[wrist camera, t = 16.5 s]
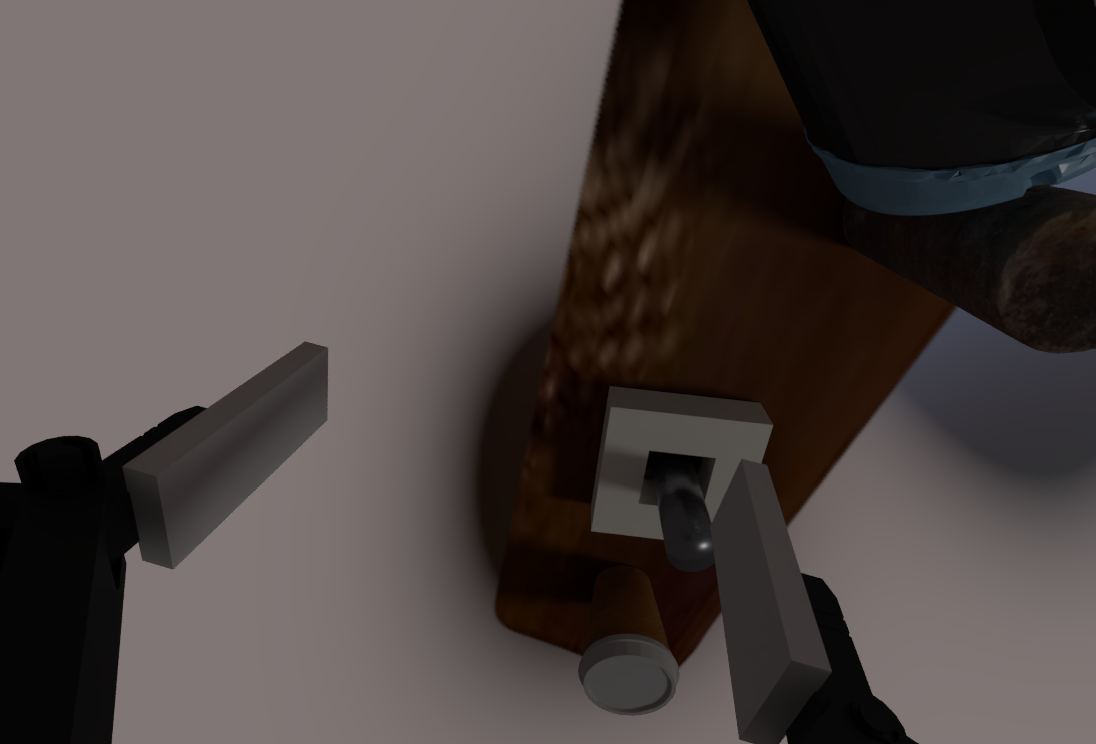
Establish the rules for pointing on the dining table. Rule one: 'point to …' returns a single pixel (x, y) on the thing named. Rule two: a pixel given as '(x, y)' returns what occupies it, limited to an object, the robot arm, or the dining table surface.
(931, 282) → the candle
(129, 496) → the robot arm
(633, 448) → the hole block
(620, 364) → the dining table surface
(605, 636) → the disposable coffee cup
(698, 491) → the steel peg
